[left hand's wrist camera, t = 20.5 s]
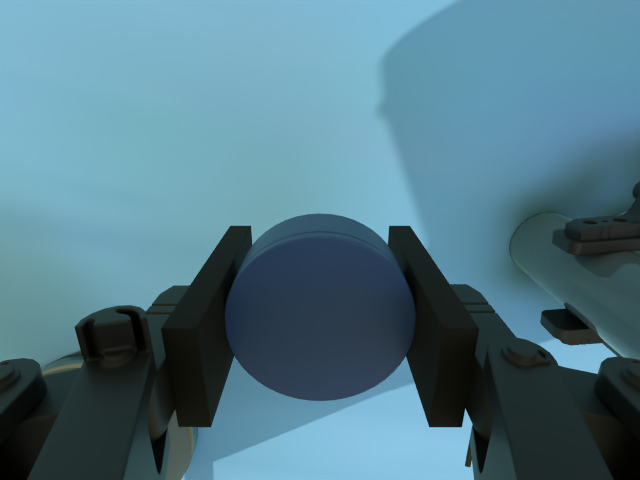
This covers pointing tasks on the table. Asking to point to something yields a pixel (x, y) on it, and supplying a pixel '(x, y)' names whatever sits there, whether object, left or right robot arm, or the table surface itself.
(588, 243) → the right robot arm
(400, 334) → the lid
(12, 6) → the table surface
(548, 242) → the bottle
